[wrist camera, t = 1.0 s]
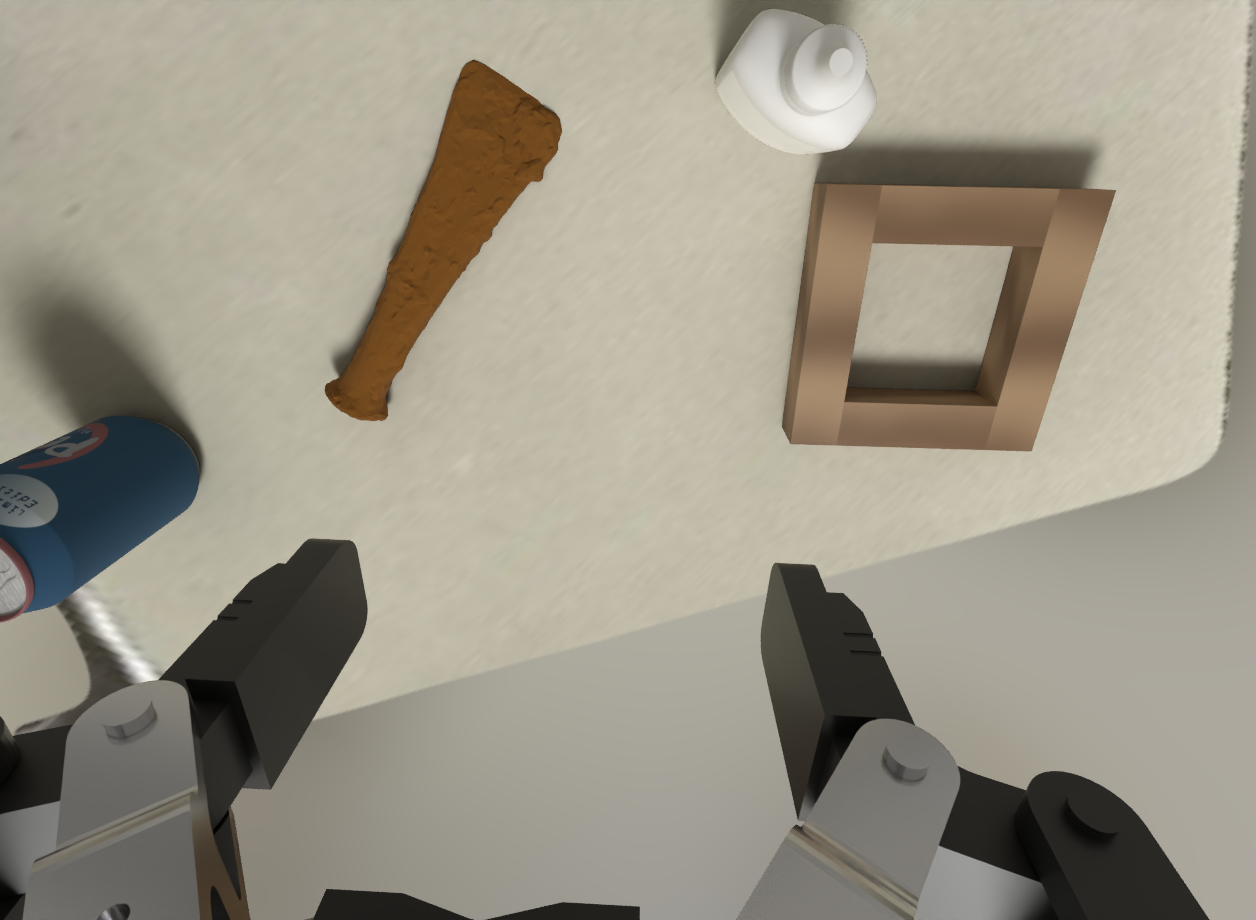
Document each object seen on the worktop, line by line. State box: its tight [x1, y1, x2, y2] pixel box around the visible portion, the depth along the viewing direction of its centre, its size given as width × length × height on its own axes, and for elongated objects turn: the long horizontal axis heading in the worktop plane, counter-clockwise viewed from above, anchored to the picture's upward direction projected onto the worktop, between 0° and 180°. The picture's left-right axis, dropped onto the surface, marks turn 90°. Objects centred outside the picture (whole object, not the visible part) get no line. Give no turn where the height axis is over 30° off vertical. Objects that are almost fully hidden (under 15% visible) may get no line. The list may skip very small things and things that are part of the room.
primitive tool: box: [325, 60, 562, 421], centre depth 32 cm, size 19×6×4 cm, turn 149°
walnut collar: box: [782, 183, 1116, 451], centre depth 32 cm, size 13×13×2 cm
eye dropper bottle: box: [715, 9, 877, 155], centre depth 24 cm, size 4×6×12 cm
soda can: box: [0, 416, 200, 622], centre depth 33 cm, size 7×7×12 cm
